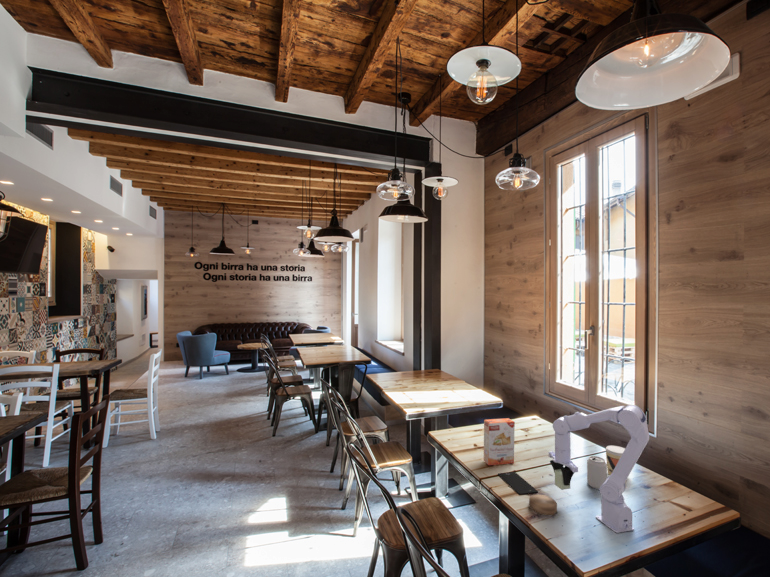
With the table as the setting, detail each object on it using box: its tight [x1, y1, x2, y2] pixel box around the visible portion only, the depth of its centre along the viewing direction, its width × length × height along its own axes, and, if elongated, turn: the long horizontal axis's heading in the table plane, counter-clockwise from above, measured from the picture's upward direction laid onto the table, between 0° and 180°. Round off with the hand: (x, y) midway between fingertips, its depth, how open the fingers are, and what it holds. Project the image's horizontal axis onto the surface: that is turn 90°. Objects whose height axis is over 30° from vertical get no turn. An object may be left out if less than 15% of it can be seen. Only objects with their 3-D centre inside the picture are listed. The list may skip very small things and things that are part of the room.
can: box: [586, 455, 608, 490], centre depth 161 cm, size 8×8×12 cm
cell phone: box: [497, 471, 539, 496], centre depth 163 cm, size 9×18×1 cm, turn 12°
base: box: [528, 493, 558, 516], centre depth 144 cm, size 10×10×3 cm
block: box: [554, 469, 571, 491], centre depth 147 cm, size 4×4×6 cm
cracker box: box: [483, 417, 515, 466], centre depth 183 cm, size 14×6×21 cm, turn 102°
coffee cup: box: [605, 445, 626, 476], centre depth 171 cm, size 9×9×12 cm
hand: (562, 482), depth 147 cm, fingers closed on block, 4 cm apart
